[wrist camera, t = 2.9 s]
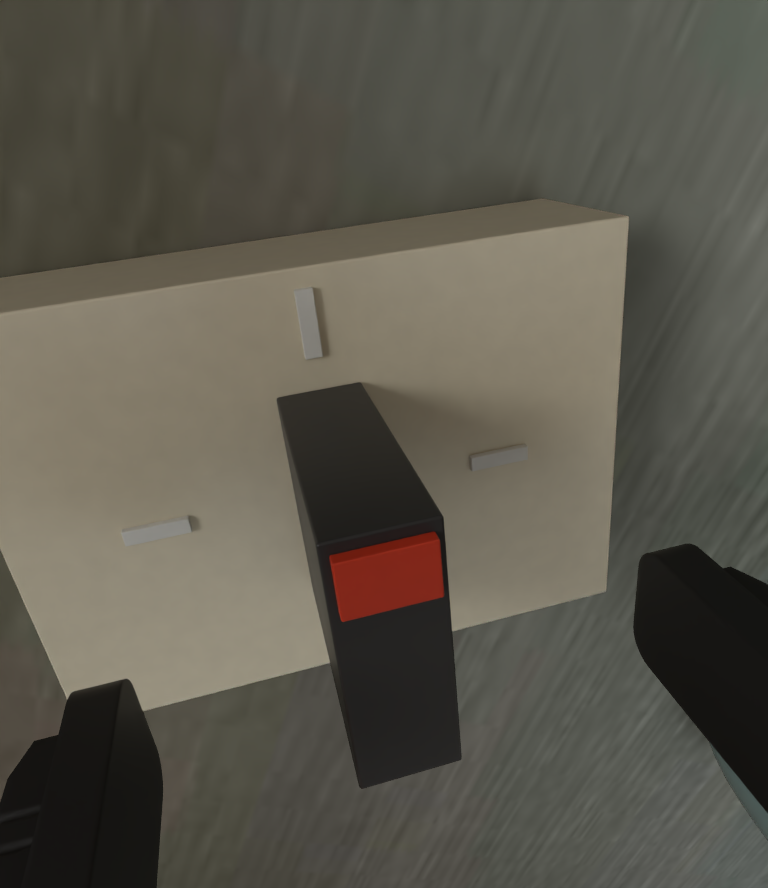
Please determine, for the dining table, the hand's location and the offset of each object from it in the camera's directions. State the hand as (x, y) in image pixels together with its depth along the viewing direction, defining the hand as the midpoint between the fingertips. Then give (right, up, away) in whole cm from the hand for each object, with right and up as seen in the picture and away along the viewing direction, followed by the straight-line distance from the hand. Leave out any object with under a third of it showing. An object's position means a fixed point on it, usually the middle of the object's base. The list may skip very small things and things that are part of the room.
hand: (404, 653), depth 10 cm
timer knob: (-1, +2, +5) cm, 5 cm away
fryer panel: (-2, +4, +8) cm, 9 cm away
